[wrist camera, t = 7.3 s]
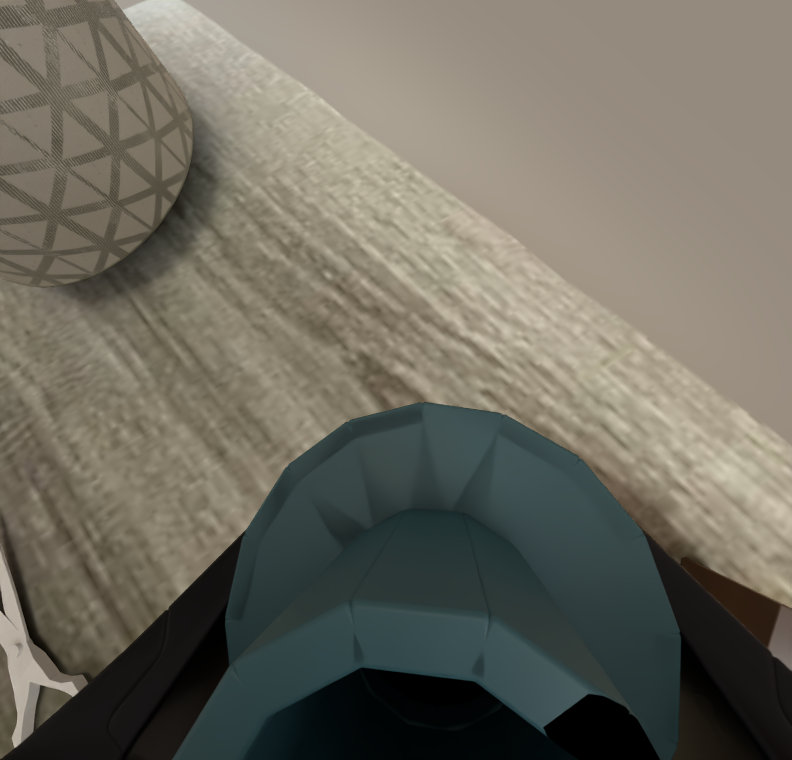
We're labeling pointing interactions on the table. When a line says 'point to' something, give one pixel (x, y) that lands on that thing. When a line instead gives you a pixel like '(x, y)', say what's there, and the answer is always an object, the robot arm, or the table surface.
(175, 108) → the planter
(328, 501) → the teal faceted vase
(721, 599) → the wall
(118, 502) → the table surface
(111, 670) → the robot arm
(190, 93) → the table surface
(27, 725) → the scissors
